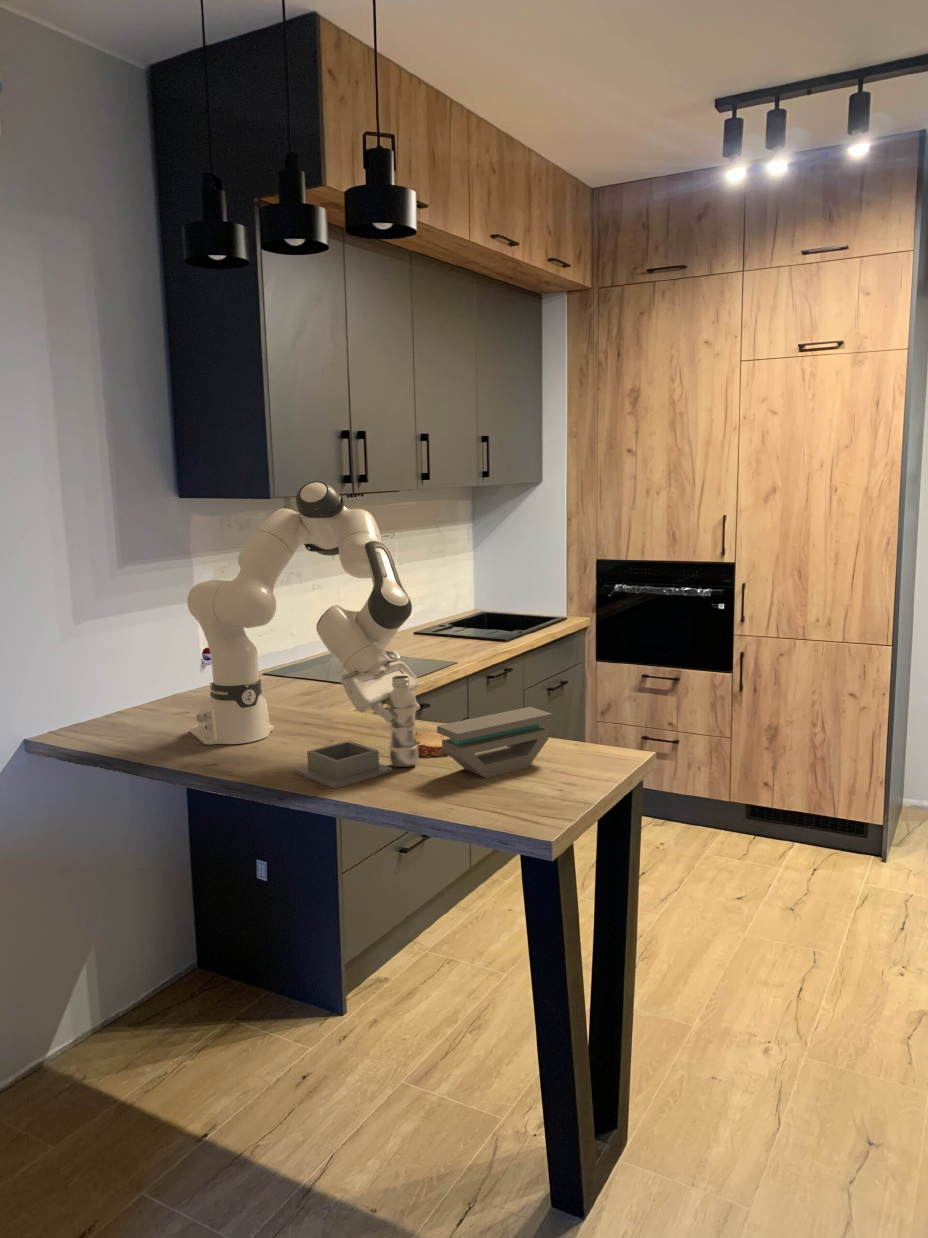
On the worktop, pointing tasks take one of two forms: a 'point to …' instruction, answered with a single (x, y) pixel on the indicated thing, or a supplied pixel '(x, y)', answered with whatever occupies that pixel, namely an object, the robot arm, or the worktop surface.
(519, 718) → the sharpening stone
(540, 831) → the worktop surface
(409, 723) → the plastic bottle
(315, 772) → the holder
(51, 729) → the worktop surface
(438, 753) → the slice of bread
